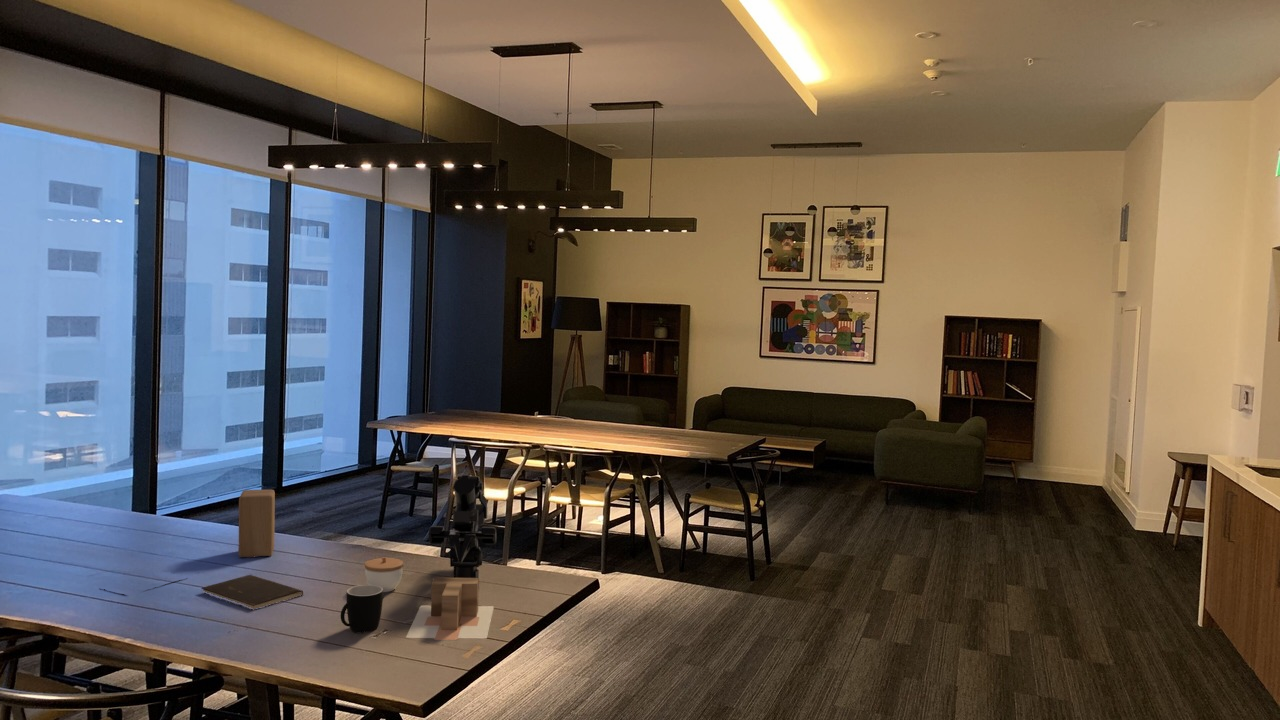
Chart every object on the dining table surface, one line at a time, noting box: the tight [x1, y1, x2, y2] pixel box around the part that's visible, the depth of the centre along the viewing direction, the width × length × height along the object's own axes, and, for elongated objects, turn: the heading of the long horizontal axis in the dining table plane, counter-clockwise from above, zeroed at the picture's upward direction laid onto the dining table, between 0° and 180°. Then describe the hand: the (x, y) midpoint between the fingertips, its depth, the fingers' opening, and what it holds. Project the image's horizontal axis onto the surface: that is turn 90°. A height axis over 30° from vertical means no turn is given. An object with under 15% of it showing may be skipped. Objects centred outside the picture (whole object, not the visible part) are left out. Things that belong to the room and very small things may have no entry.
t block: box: [430, 577, 480, 630], centre depth 246 cm, size 15×12×9 cm
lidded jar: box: [364, 556, 404, 593], centre depth 270 cm, size 11×11×9 cm
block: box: [238, 489, 276, 558], centre depth 299 cm, size 10×10×20 cm
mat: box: [405, 605, 495, 641], centre depth 244 cm, size 25×20×1 cm
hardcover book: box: [201, 574, 304, 609], centre depth 261 cm, size 16×23×2 cm
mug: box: [340, 584, 384, 634], centre depth 237 cm, size 12×9×10 cm
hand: (460, 561), depth 260 cm, fingers closed
